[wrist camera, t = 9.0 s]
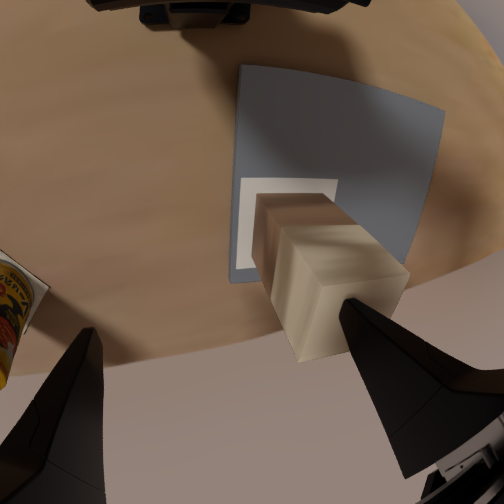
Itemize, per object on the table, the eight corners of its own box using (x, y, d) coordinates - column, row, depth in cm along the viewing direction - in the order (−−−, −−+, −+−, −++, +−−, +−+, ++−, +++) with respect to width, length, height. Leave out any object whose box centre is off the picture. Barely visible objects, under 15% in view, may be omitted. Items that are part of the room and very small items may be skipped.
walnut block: (256, 193, 19) (280, 228, 15) (322, 193, 21) (359, 224, 16) (251, 256, 22) (270, 300, 18) (311, 251, 23) (340, 290, 19)
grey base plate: (239, 65, 15) (242, 64, 14) (439, 109, 19) (445, 111, 19) (228, 277, 24) (230, 284, 23) (399, 259, 28) (404, 263, 27)
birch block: (270, 299, 18) (298, 362, 14) (281, 226, 15) (322, 286, 11) (339, 290, 19) (376, 343, 15) (359, 224, 16) (410, 274, 12)
